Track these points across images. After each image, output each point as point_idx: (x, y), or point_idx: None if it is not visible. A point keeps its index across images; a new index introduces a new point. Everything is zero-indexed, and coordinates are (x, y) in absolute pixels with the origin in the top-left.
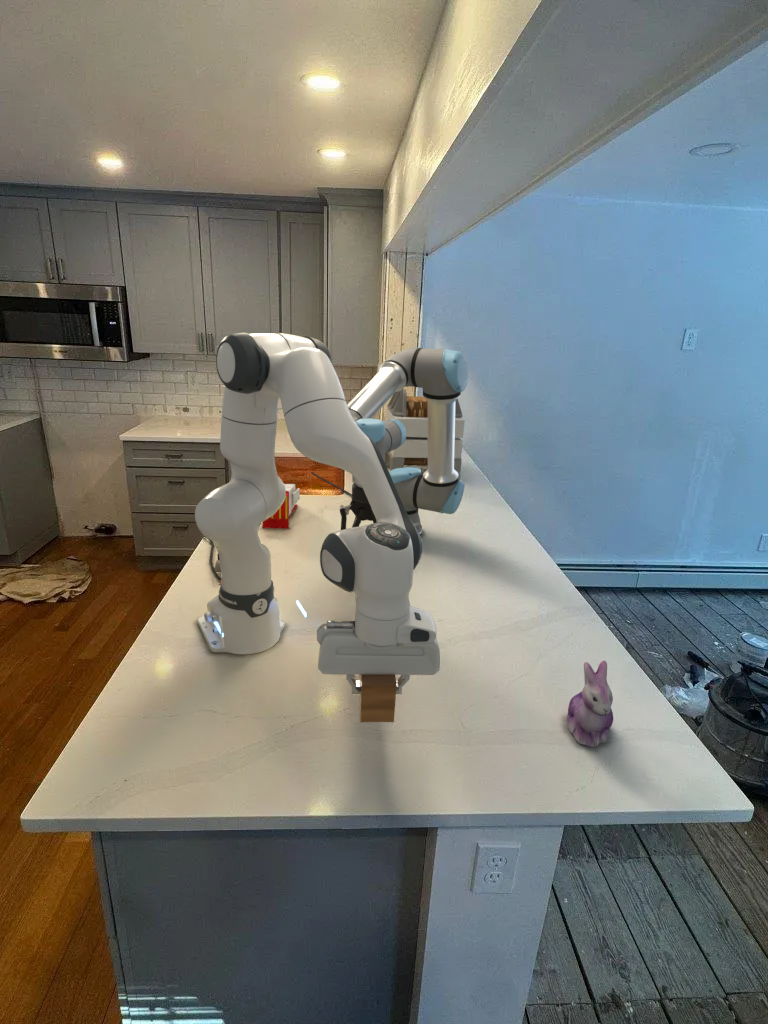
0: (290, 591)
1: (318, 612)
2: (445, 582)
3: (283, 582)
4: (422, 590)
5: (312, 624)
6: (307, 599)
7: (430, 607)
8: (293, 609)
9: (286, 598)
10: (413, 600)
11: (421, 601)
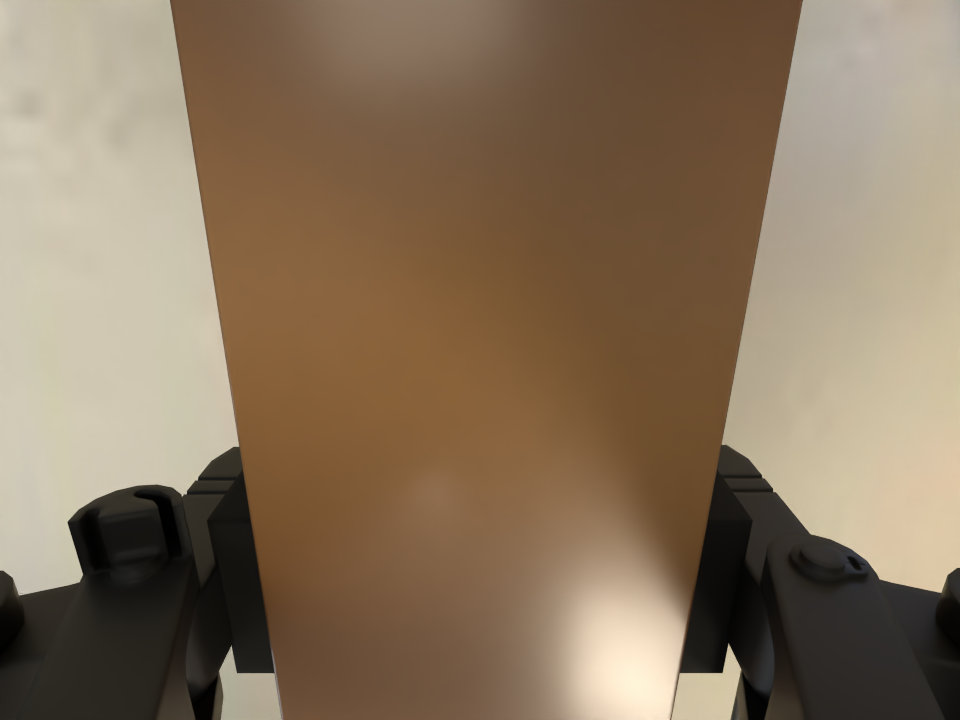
0: (896, 477)
1: (772, 235)
2: (4, 567)
3: (915, 568)
4: (128, 486)
5: (837, 75)
6: (814, 390)
7: (60, 293)
8: (922, 274)
9: (936, 402)
10: (173, 376)
11: (123, 365)
